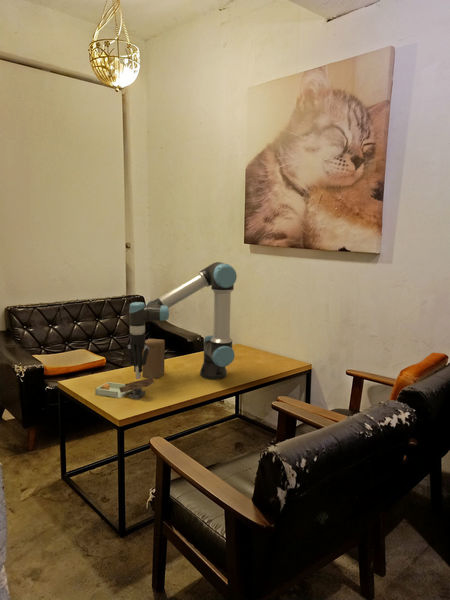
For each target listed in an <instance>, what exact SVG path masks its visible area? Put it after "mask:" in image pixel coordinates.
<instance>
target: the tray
mask: <svg viewBox="0 0 450 600" xmlns="http://www.w3.org/2000/svg"><path fill="white" fill-rule="evenodd" d="M104 384H109V385H110V389H109V390H105V389H103V385H104ZM125 384H126V383H118V382H113V381H112V382H111V381H107V382H105V383H103V384H101V385H100V386H98V387H96V388H95V395H96V396H103V397H109V398H114V399H115V398H116V399H122V398H124V397H125V396H127V395H129V394H130V393H132V392H133V390H131V391H126V392H122V393H121V392H120V389H119V388H120V387H123V386H125Z"/></svg>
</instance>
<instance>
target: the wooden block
mask: <svg viewBox="0 0 450 600" xmlns="http://www.w3.org/2000/svg"><path fill="white" fill-rule="evenodd" d="M145 343H146V346H147V347H150V350H149V351H148V355H147V360H146V364H145V365H143V366H142V372H141V377H143V378H149V377H150V376H153V379H160V378H161V377H162V376H163V375H164V374H165V359H166V358H165V354H166V353H165V349H166V348H165V345H166V342H165V339H157V338H148V339H145ZM144 351H145V350H144V349H143V352H142V359H143V354H144Z"/></svg>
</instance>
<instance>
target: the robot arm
mask: <svg viewBox="0 0 450 600" xmlns="http://www.w3.org/2000/svg"><path fill="white" fill-rule="evenodd" d="M237 276H238V275H237V272H236V270H235V268H234V267H233V266H232V265H230V264H228V263H224V262H220V261H219V262H218V261H216V262H213V263H212V264H209V265H208V266H206V267H205V268H203V269H202V270H200V271H199V272H198V274H197V275H195V276H193V277H191V278H190V279H188V280H187V281H185V282H183V283H182V284H180V285H178V286H176V287H175V288H173V289H171V290H170V291H168V292H166V293H164V294H163V295H161V296H159V297H157V298H156V299H154V300H150V301H147V303H146V304H145V302H142V301H134V302H131V303H130V304H129V311H128V313H129V314H128V316H129V340H130V342H129V344H127V345H126V346H125V349H126V351H127V355H128V359H129V362H130V365H132V366H133V372H134V373H135V380H139V379H141V377H142V366H143V365H145V364H146V360H147V355H148V351H149V350H150V347H147V346H146V343H145V341H146V333H145V332H146V322H155V321H156V322H159V321H161V322H163V321H167V320H169V317H170V311H169V309H170V308H171V307H173V306H175V305H176V304H178V303H180V302H181V301H183V300H185V299H187V298H188V297H190V296H192V295H194V294H195V293H197V292H198V291H200V290H202V289H204V288H205V287H207V288H209V287H210V286H211V291H213V294H214V295H213V300H214V301H213V335H206V336H205V337H203V339H204V340H203V363H202V365H201V368H200V372H199V373H200V374H199V376H200V377H201V378H203V379H207V380H222V379H225V378H227V377H228V376H227V375H228V373H227V371H228V370H227V368H226V367H227V366H230V365H231V364H232V363H233V362H234V359H235V350H234V349H233V339H232V338H231V337H230V334H231V333H230V331H231V299H232V298H231V294H232V292H233V291H234V285H235V283H236V282H237ZM143 349H144V350H145V351H144V354H143V359H142V352H143Z"/></svg>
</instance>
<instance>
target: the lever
mask: <svg viewBox="0 0 450 600" xmlns="http://www.w3.org/2000/svg"><path fill="white" fill-rule="evenodd" d="M154 383H155V380H154V378H153V376H150V377H149V378H148V377H146V378H144V379H141V380H135V381H132V382H127V383H124V384H125V386H123V387H120V388H119V389H120V392H121V393H122V392H126V391H131V390H132V391H133V390H135V389H139V388H143V389H144V388H146V387H150V386H151V385H153V384H154ZM132 391H131V392H132Z"/></svg>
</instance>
